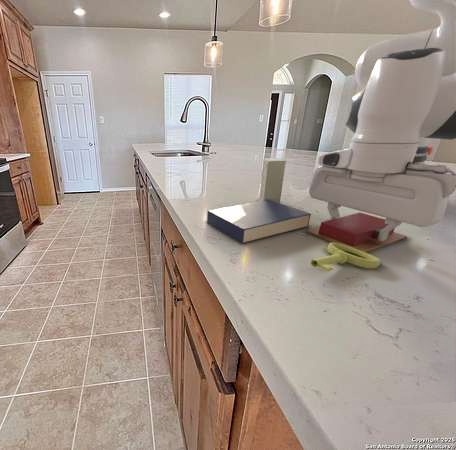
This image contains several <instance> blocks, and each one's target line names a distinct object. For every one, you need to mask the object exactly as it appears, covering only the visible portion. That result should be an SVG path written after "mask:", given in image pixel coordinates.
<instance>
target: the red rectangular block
mask: <svg viewBox="0 0 456 450" xmlns="http://www.w3.org/2000/svg"><path fill="white" fill-rule="evenodd" d="M385 220H386V218H383V217H379V216H378V217H377V216H376V215H375V216H374V215H372V214H368V213H365V212H356V213H353V214H348V215H344V216H342V217H340V218H336V219H332V220H330V219H327V220H324V221H321V222H320V223H319V224H320V225H319V227H318V228H319V232H318V233H319V234H322V235H325V236H327V237H330V238H332V239H335V240H337V241H340V242H342V243H345V244H348V245H350V246H356V245H359V244H362V243H366V242H369V241H372V240H375V239H373V238H372V235H374V234H373V232H374V230H376V229H379V228H381V229H383V228H385V227H386V226H387V225H389V224H385ZM395 229H396V228H394V229H393V230H391V231H389V234H388V235H390V234H393V232H395Z"/></svg>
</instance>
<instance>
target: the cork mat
mask: <svg viewBox="0 0 456 450" xmlns="http://www.w3.org/2000/svg"><path fill="white" fill-rule="evenodd" d="M319 228H320V227H316V228H313V229H310V230H307V232H306V233H307V234H309V235H311V236H314V237H317V238H319V239H322V240H324V241H326V242H329V243H339V244H343V245H346V246H349V247H352V248H355V249H358V250H360V251H363V252H365V253H369V252H371V251H373V250H376V249H379V248H383V247H386V246H387V245H390V244H394V243H397V242H400V241H402V240H405V239H407V238H408V236H407V235H404V234H402V233H399V232H395V231H393V234H390V235H388V236H387V239H386V240H384V241H379V240H376V239H375V240H372V241H369V242H366V243H362V244H359V245H356V246H350V245H348V244H345V243H342V242H340V241H337V240H335V239H332V238H330V237H327V236H325V235H322V234H319V233H318V232H319Z"/></svg>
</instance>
